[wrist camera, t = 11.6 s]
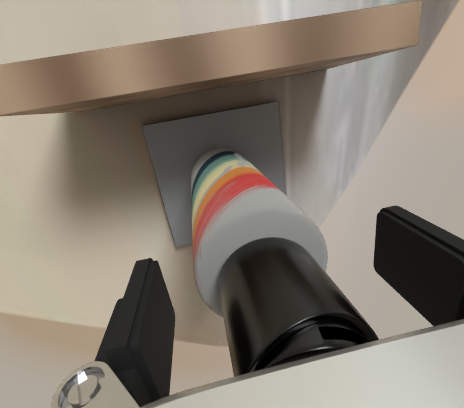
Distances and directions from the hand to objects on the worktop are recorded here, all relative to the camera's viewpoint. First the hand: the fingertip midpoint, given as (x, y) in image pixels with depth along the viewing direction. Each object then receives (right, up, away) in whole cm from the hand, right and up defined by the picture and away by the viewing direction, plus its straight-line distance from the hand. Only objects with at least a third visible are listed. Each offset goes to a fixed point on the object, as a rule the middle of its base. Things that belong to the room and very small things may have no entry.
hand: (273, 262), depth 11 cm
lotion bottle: (-3, +5, +14) cm, 15 cm away
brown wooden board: (-4, +13, +11) cm, 18 cm away
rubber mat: (-3, +5, +15) cm, 16 cm away
